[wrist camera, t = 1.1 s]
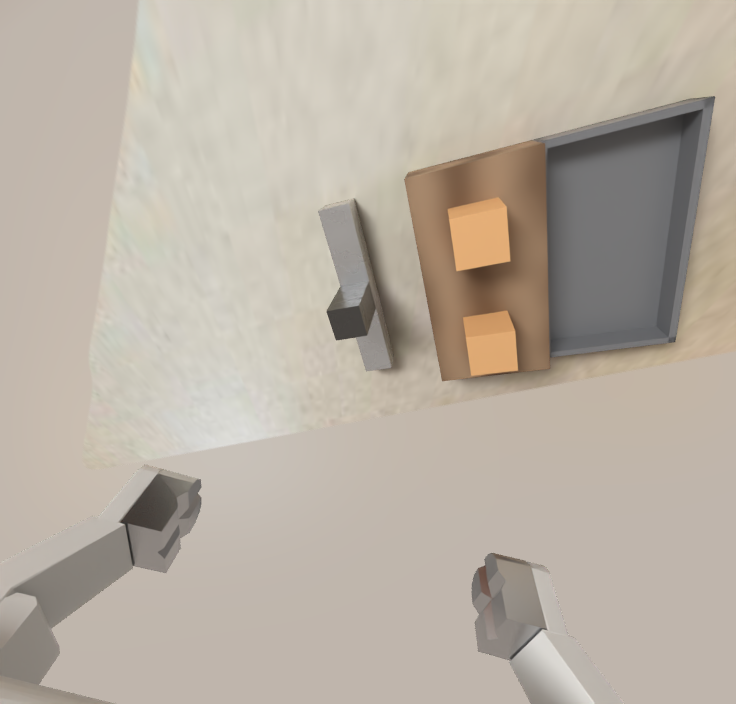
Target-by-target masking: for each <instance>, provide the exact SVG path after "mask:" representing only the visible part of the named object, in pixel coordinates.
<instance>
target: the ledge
mask: <svg viewBox="0 0 736 704" xmlns="http://www.w3.org/2000/svg"><path fill="white" fill-rule="evenodd" d="M404 180H405V185H406V190H407V196H408V201H409V206H410V212H411V217H412V222H413V228H414V233H415V238H416V244H417V249H418V254H419V260H420V265H421V270H422V276H423V281H424V286H425V292H426V297H427V302H428V308H429V313H430V318H431V324H432V329H433V334H434V340H435V345H436V350H437V356H438V361H439V366H440V372H441V377H442V381H448V380H456V379H465V378H474V377H482V376H491V375H500V374H508V373H517V372H526V371H534V370H543V369H550V351H549V303H548V255H547V207H546V159H545V143H542V142H536V141H527V142H523V143H519V144H515V145H512V146H508V147H504V148H500V149H496V150H492V151H489V152H485V153H481V154H477V155H473V156H470V157H466V158H462V159H458V160H454V161H450V162H447V163H443V164H439V165H435V166H431V167H427V168H424V169H420V170H416V171H412V172H408V174H407V176H406V177H405V179H404ZM498 197H499V198H500V200H501V201H502V202H503V203H504V204H505V205H506V207H507V219H508V234H509V248H510V261H509V262H504V263H498V264H493V265H488V266H482V267H477V268H472V269H466V270H461V271H456V265H455V258H454V251H453V244H452V237H451V229H450V222H449V215H448V209H450V208H454V207H458V206H463V205H467V204H471V203H476V202H480V201H484V200H489V199H493V198H498ZM501 311H508V313H509V316H510V319H511V321H512V324H513V326H514V329H515V334H516V349H517V363H518V371H510V372H501V373H493V374H484V375H475V376H471V371H470V364H469V357H468V349H467V342H466V335H465V328H464V321H463V317H469V316H476V315H482V314H488V313H495V312H501Z"/></svg>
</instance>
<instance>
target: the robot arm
mask: <svg viewBox="0 0 736 704" xmlns="http://www.w3.org/2000/svg"><path fill="white" fill-rule="evenodd" d="M200 489H201V479H197V478H194V477H190V476H186V475H182V474H179V473H175V472H171V471H167V470H164V469H160V468H157V467H153V466H149V465H144V466H142V467H141V468H140V469H138V470H137V472H136V473H135V474H134V475H133V476H132V477H131V478H130V480H129V481H128V482H127V483H126V485H125V486H124V487H123V488H122V489H121V490H120V491H119V493H118V494H117V495H116V496H115V497H114V499H113V500H112V501H111V502H110V504H109V505H108V506H107V507H106V508H105V509H104V510H103V512H102V513H101V514H100V515H99V517H95V516H91V517H89V518H87V519H85V520H83V521H81V522H79V523H77V524H75V525H73V526H71V527H69V528H67V529H65V530H63V531H61V532H60V533H57V534H55V535H54V536H52V537H50V538H48V539H46V540H44V541H42V542H40V543H38V544H36V545H34V546H32V547H30V548H28V549H26V550H24V551H22V552H20V553H18V554H16V555H14V556H13V557H10V558H9V559H7V560H5V561H3V562H1V563H0V704H114V703H110V702H106V701H102V700H98V699H94V698H90V697H86V696H82V695H77V694H74V693H70V692H66V691H61V690H58V689H53V688H49V687H45V686H41V685H39V684H40V682H41V681H42V679H43V678H44V676H45V675H46V673H47V672H48V670H49V669H50V667H51V666H52V664H53V663H54V661H55V660H56V658H57V657H58V655H59V653H60V651H59V645H58V643H57V641H56V638H55V636H54V634H53V632H52V630H51V628H53V627H54V626H55V625H57V624H58V623H59V622H61V621H62V620H64V619H65V618H66V617H67V616H69V615H70V614H72V613H73V612H74V611H76V610H77V609H78V608H80V607H81V606H82V605H84V604H85V603H87V602H88V601H89V600H91V599H92V598H93V597H95V596H96V595H97V594H99V593H100V592H101V591H103V590H104V589H105V588H107V587H108V586H110V585H111V584H112V583H114V582H115V581H116V580H118V579H119V578H120V577H122V576H123V575H124V574H126V573H127V572H128V571H130V570H131V569H132V568H133V566H136V567H141V568H145V569H150V570H154V571H159V572H163V573H166V572H167V570H168V569H169V567H170V565H171V564H172V562H173V560H174V559H175V557H176V555H177V553H178V552H179V550H180V538H182V537H183V536H185V535H187V534H188V533H190V531H191V529H192V527H193V526H194V524H195V522H196V519H197V517H198V514H199V512H200V508H201V497H200V495H199V494H198V492H199V490H200ZM472 602H473V605H474V607H475V608H476V610H477V612H478V613H479V616H478V618H477V619H476V621H475V629H476V637H477V646H478V651H479V652H482V653H486V654H489V655H493V656H496V657H500V658H503V659H507V660H510V662H509V663H510V665H511V667H512V668H513V670H514V672H515V674H516V676H517V678H518V680H519V682H520V684H521V686H522V687H523V689H524V691H525V693H526V695H527V697H528V699H529V701H530V703H531V704H624V702H623V701H622V700H621V698H620V697H619V696H618V694H617V693H616V692H615V690H614V689H613V688H612V686H611V685H610V684H609V682H608V681H607V680H606V679H605V677H604V676H603V675H602V673H601V672H600V671H599V669H598V668H597V667H596V665H595V664H594V663H593V661H592V660H591V659H590V657H589V656H588V655H587V653H586V652H585V651H584V650H583V648H582V647H581V646H580V644H579V643H578V642H577V640H576V639H575V638H574V637H572V636H569V635H568V632H567V629H566V625H565V622H564V619H563V615H562V612H561V609H560V606H559V602H558V599H557V596H556V592H555V589H554V586H553V583H552V579H551V576H550V573H549V571H548V569H547V568H546V567H545V566H543V565H538V564H534V563H530V562H526V561H524V560H520V559H515V558H512V557H507V556H503V555H499V554H495V553H490V554H488V555H487V556H486V558H485V566H483V567H480V568H478V569H477V571H476V573H475V574H474V578H473V582H472Z"/></svg>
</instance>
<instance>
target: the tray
mask: <svg viewBox="0 0 736 704" xmlns="http://www.w3.org/2000/svg"><path fill="white" fill-rule="evenodd" d="M714 100H715V96H713V97H703V98H693V99H688V100H684V101H680V102H676V103H672V104H669V105H665V106H661V107H657V108H653V109H649V110H646V111H642V112H638V113H634V114H630V115H626V116H623V117H619V118H615V119H611V120H607V121H603V122H600V123H596V124H592V125H588V126H584V127H580V128H577V129H573V130H569V131H565V132H561V133H558V134H554V135H550V136H546V137H542V138H538V139H535V140H531V141H536V142H542V143H545V159H546V207H547V255H548V303H549V351H550V357H557V356H565V355H573V354H582V353H590V352H598V351H606V350H614V349H622V348H631V347H639V346H647V345H655V344H663V343H672V342H675V340H676V334H677V328H678V322H679V316H680V309H681V303H682V297H683V291H684V285H685V279H686V272H687V266H688V260H689V254H690V248H691V242H692V236H693V229H694V223H695V217H696V211H697V205H698V199H699V193H700V186H701V180H702V174H703V168H704V162H705V156H706V150H707V143H708V137H709V131H710V125H711V119H712V113H713V107H714Z"/></svg>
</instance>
